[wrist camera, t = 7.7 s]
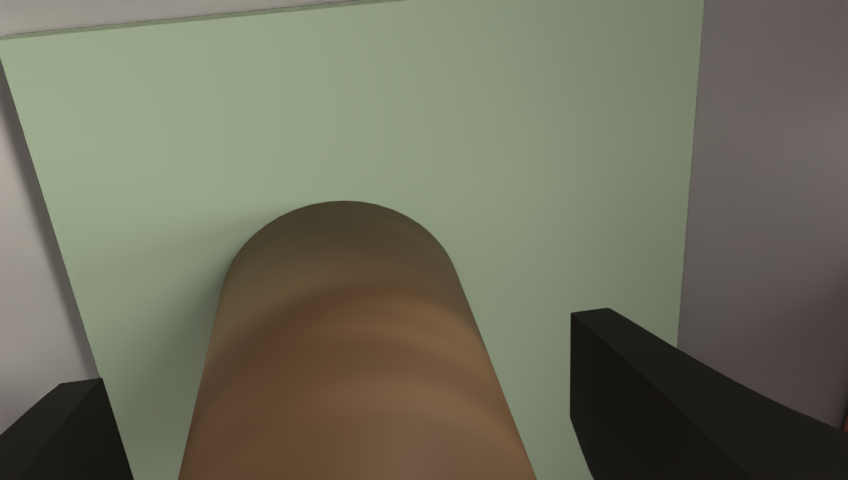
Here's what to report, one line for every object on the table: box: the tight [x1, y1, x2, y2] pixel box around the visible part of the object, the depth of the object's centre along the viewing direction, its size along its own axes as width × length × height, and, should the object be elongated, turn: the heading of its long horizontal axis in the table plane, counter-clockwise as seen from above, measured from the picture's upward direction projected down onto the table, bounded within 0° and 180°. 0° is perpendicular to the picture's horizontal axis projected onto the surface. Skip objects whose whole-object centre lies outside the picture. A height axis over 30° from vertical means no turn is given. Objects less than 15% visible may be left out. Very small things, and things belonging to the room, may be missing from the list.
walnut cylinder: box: [178, 201, 537, 480], centre depth 11 cm, size 4×4×6 cm
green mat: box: [0, 0, 704, 480], centre depth 14 cm, size 11×11×1 cm
